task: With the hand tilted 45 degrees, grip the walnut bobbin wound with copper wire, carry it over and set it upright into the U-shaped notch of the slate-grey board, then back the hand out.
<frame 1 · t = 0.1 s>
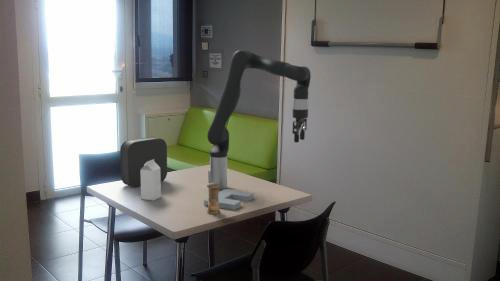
hand: (299, 140, 235), 29 cm above the table, tool pointing down, fingers open, 8 cm apart
notched board: (229, 201, 234), on the table
bobbin: (213, 212, 217), on the table
milk carton: (151, 198, 237), on the table
speaker: (144, 183, 264), on the table
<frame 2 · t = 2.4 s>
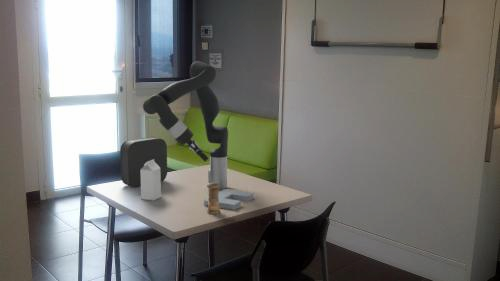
hand: (205, 158, 213), 25 cm above the table, tool tilted 40°, fingers open, 8 cm apart
nothing on the table moved.
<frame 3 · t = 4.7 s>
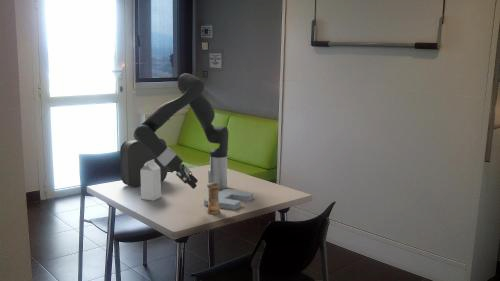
hand: (195, 184, 215), 13 cm above the table, tool tilted 45°, fingers open, 8 cm apart
nothing on the table moved.
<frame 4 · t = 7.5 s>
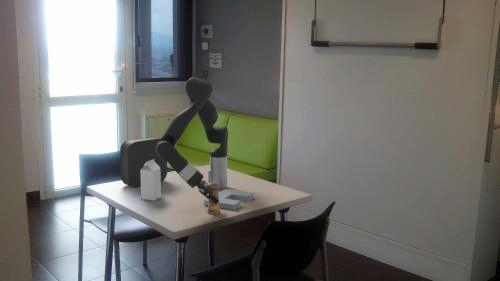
hand: (217, 200, 216), 5 cm above the table, tool tilted 45°, fingers closed on bobbin, 5 cm apart
bobbin: (213, 212, 217), on the table, touching gripper
everything else where it was.
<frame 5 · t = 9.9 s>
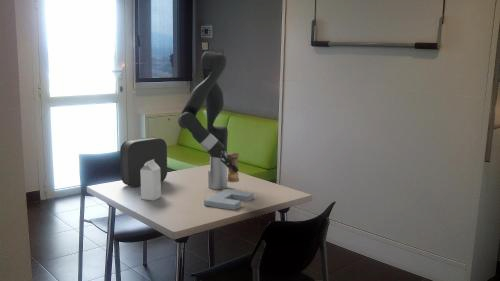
hand: (237, 169, 228), 17 cm above the table, tool tilted 45°, fingers closed on bobbin, 4 cm apart
bobbin: (233, 180, 229), point 11 cm above the table, touching gripper
everything else where it was.
when the fingers open (7 cm above the table, at t = 12.6 s): bobbin drops 1 cm, on the table.
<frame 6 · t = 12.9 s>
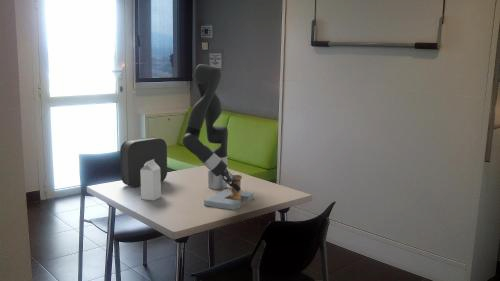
hand: (239, 187, 231), 7 cm above the table, tool tilted 45°, fingers open, 8 cm apart
bobbin: (235, 202, 232), on the table
everything else where it was.
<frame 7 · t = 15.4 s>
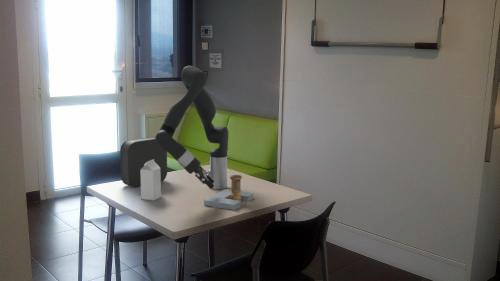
hand: (212, 185, 230), 9 cm above the table, tool tilted 45°, fingers open, 8 cm apart
nothing on the table moved.
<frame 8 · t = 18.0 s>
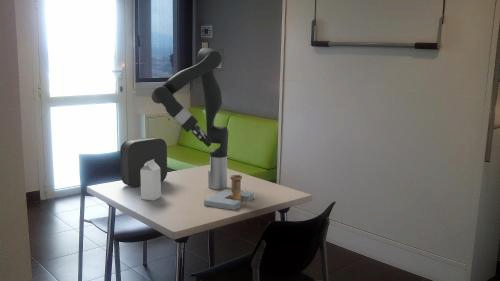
hand: (210, 143, 227), 29 cm above the table, tool tilted 45°, fingers open, 8 cm apart
nothing on the table moved.
at the end: bobbin 0.4 cm from the target spot on the notched board, point 0.0 cm above the notched board's base; bobbin tilted 0°; the gripper is holding nothing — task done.
